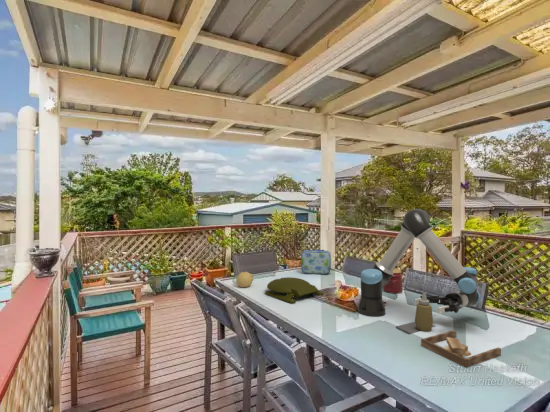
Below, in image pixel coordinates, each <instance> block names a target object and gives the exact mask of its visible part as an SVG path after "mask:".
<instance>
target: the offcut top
mask: <svg viewBox="0 0 550 412" xmlns="http://www.w3.org/2000/svg"><path fill="white" fill-rule="evenodd" d="M446 344H447V346H449V347H450V349H451V351H452V352H453V353H460V354H465V349H464V347H463V345H464V344H463V345H462V342H461V341H460V339H459V338H457V337H455V338H449V337H447V340H446Z"/></svg>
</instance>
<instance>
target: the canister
mask: <svg viewBox="0 0 550 412" xmlns="http://www.w3.org/2000/svg"><path fill="white" fill-rule="evenodd" d="M393 273H394V274H393V275H392V277H391V278H390V280H389V283H388V284H387V285H386V286H384V287H383V288H382V291H383V292H385V293H389V294H402V293H403V289H404V288H403V280H404V279H403V274H402V270H400V269H399V268H396V267H395V268H394V269H393Z"/></svg>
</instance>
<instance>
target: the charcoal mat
mask: <svg viewBox="0 0 550 412" xmlns="http://www.w3.org/2000/svg"><path fill="white" fill-rule="evenodd" d="M435 327H437V326H436V325H434V324H433V325H432V328H435ZM395 329H396V330H397V329H398V330H399V331H402V332H403V333H405V334H408V335H412V334H416V333H419V332H421V331H420V330H418V329H417V326H416V323H415V321H412V322H408V323H405V324H400V325H395Z"/></svg>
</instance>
